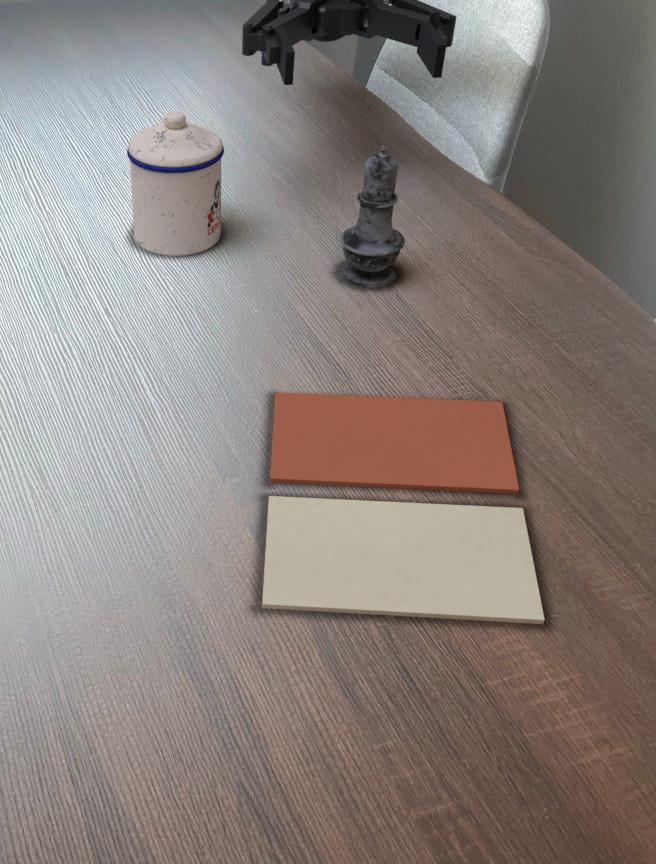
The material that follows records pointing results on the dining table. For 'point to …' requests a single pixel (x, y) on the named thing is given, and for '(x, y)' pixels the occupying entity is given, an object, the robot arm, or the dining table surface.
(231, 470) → the dining table surface
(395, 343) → the dining table surface
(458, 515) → the cream mat
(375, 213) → the dark grey chess piece
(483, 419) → the terracotta mat
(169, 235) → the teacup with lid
